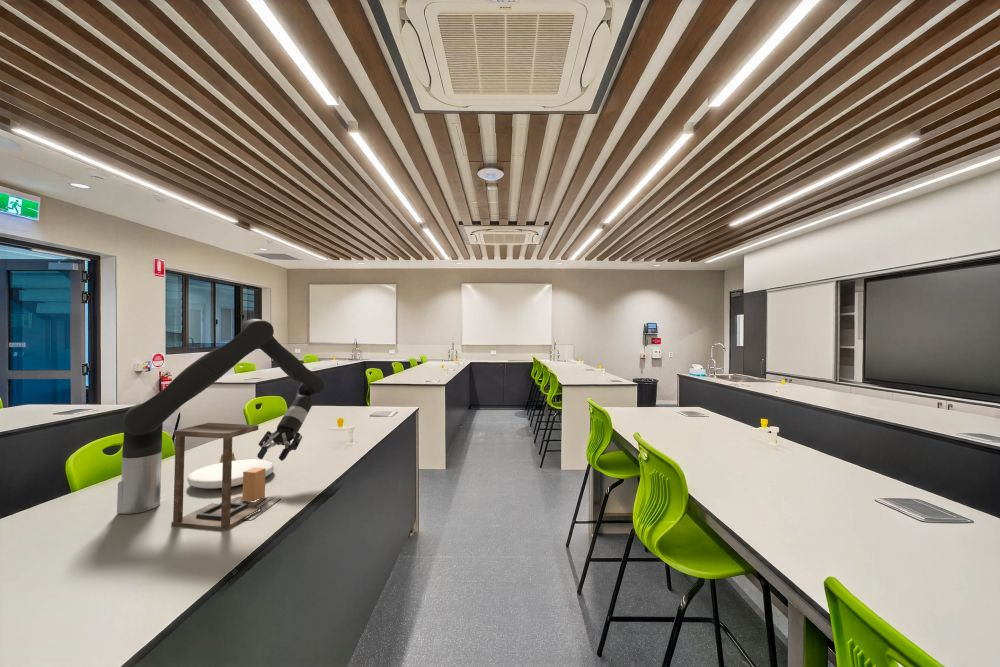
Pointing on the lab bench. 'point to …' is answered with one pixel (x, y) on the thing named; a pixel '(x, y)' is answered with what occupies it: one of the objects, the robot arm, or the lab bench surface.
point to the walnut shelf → (225, 511)
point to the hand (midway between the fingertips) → (270, 458)
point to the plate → (213, 473)
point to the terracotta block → (253, 484)
